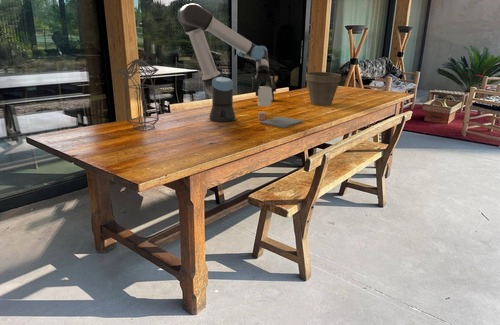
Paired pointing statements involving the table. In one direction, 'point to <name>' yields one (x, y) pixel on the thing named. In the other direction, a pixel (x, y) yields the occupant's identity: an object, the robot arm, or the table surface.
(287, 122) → the slate board
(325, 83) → the plant pot
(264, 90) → the grey cover
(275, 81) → the utensil holder
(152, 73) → the geometric lantern
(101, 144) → the table surface
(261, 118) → the terracotta cube
